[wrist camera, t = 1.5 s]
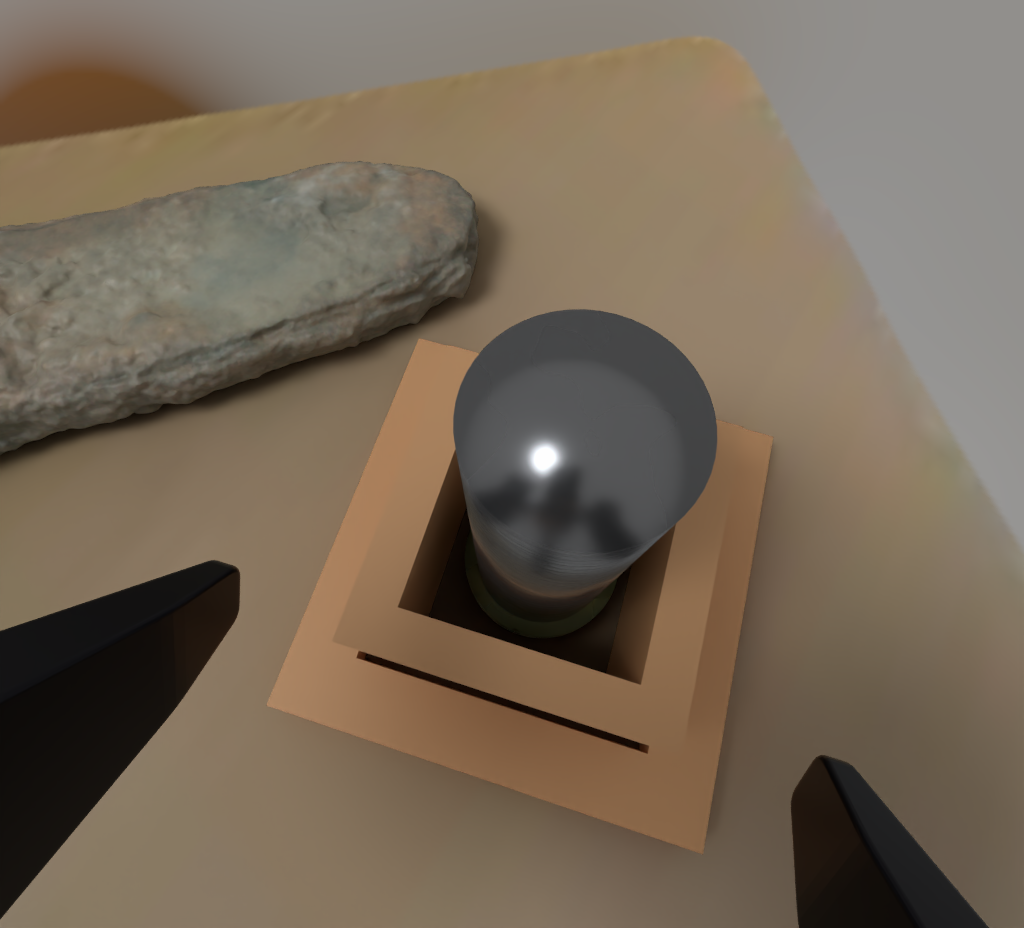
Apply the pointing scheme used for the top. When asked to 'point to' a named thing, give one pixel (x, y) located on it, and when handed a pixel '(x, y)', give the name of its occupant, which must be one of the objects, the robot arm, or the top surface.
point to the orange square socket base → (517, 670)
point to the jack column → (574, 462)
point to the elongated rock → (218, 288)
